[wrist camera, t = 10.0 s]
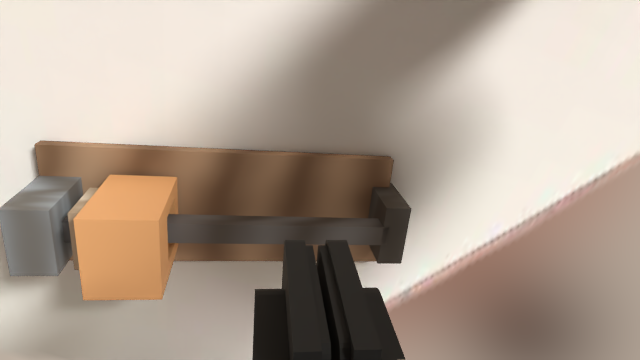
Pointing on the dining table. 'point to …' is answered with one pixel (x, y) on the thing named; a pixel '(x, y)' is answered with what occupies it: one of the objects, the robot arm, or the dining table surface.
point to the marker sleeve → (126, 238)
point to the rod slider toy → (212, 203)
